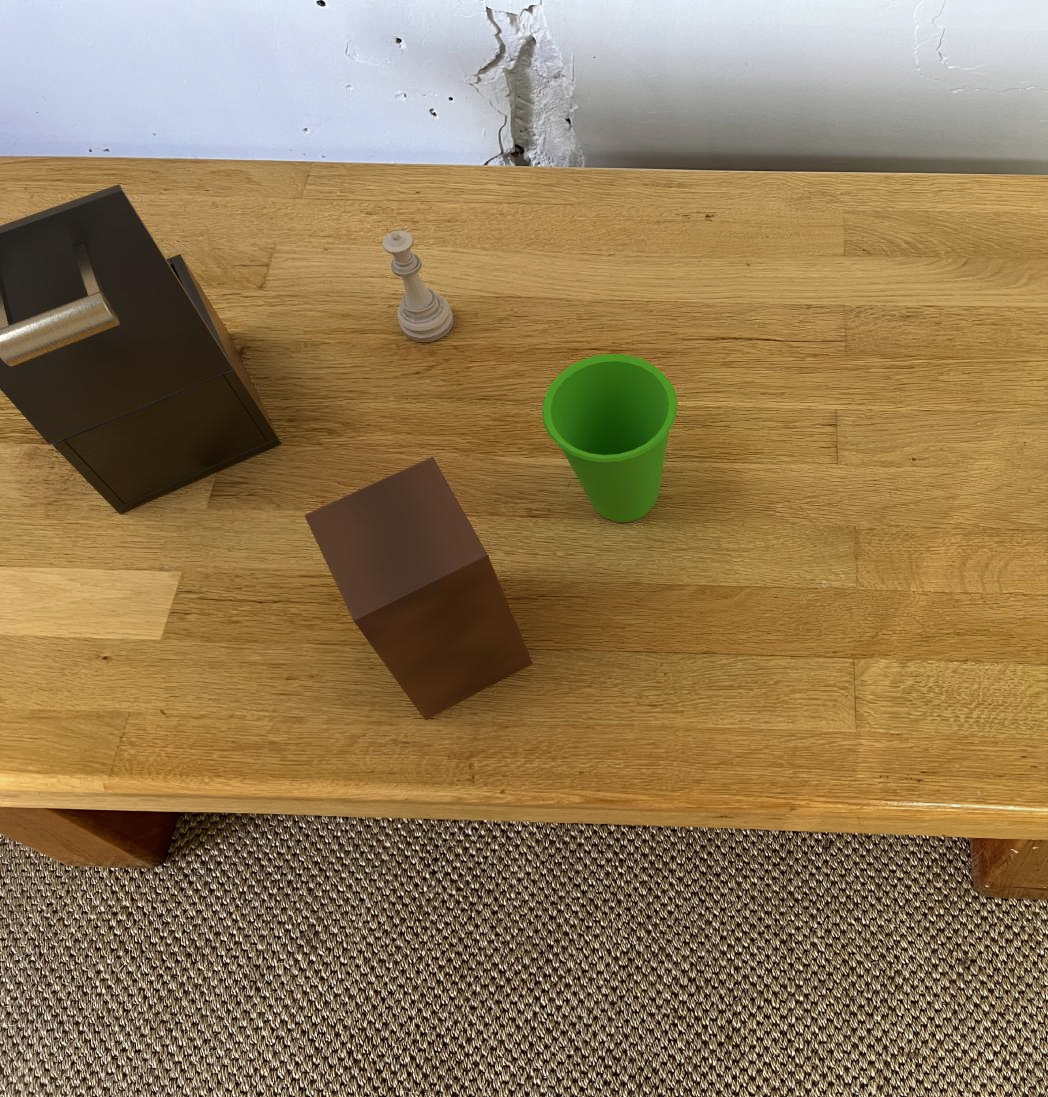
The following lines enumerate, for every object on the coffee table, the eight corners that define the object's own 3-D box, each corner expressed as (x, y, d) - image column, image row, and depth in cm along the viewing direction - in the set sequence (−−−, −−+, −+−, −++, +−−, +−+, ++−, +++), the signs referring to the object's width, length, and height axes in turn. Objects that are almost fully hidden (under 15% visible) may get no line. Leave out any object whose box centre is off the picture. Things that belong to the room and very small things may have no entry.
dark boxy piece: (76, 393, 83) (9, 317, 75) (229, 332, 86) (180, 253, 78) (119, 514, 77) (52, 445, 69) (281, 444, 80) (234, 370, 73)
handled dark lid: (-107, 262, 58) (-96, 349, 53) (119, 183, 61) (149, 258, 56) (47, 437, 69) (68, 522, 64) (230, 363, 72) (263, 438, 68)
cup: (672, 553, 75) (663, 468, 66) (552, 537, 76) (526, 450, 66) (693, 455, 80) (688, 361, 70) (580, 440, 80) (559, 345, 71)
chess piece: (464, 316, 87) (434, 224, 78) (432, 350, 85) (398, 260, 76) (423, 297, 88) (389, 205, 79) (390, 331, 86) (352, 240, 77)
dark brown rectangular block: (425, 720, 68) (353, 621, 56) (380, 628, 72) (303, 514, 59) (533, 663, 71) (488, 554, 58) (485, 577, 74) (432, 456, 61)
